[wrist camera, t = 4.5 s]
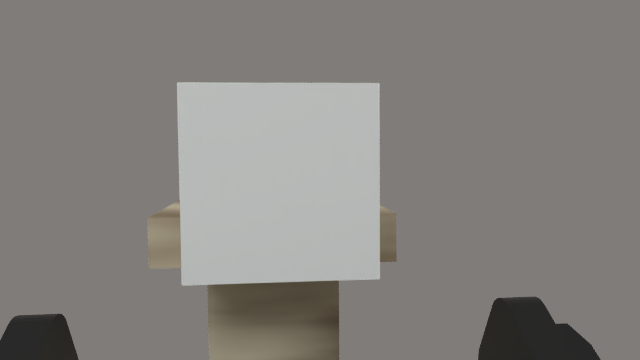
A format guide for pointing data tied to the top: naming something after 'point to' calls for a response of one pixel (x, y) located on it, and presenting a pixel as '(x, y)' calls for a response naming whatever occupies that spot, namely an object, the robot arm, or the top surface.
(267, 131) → the power strip
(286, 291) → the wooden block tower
